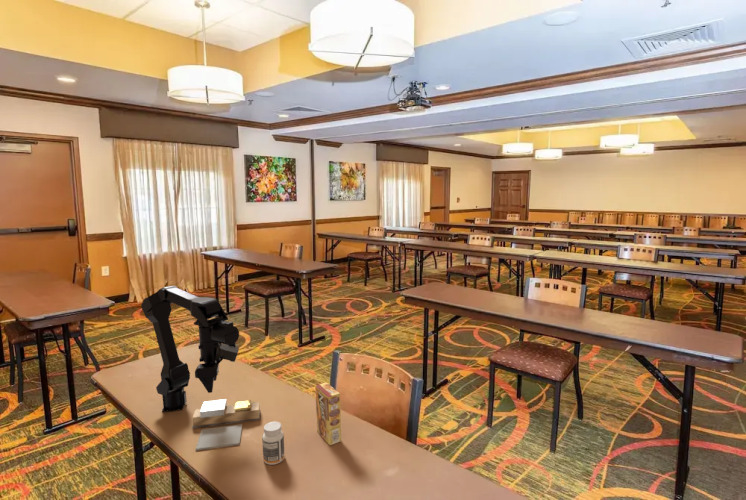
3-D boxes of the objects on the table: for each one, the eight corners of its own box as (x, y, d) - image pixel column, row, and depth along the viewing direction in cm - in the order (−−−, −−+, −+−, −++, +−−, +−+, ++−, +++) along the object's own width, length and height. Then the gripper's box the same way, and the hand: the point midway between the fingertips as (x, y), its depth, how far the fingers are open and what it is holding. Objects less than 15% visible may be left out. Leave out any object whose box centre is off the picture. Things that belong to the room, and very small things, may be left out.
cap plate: (200, 417, 129) (200, 411, 129) (204, 407, 135) (203, 401, 135) (224, 415, 131) (223, 409, 130) (226, 404, 137) (226, 399, 137)
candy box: (342, 441, 122) (341, 393, 120) (329, 446, 120) (328, 397, 118) (328, 427, 129) (327, 381, 127) (316, 432, 127) (314, 385, 125)
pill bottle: (273, 450, 118) (272, 418, 117) (288, 456, 115) (287, 423, 114) (259, 461, 113) (257, 428, 112) (274, 468, 110) (272, 434, 109)
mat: (195, 450, 118) (195, 448, 118) (202, 431, 128) (201, 429, 128) (239, 444, 121) (239, 442, 121) (242, 426, 131) (242, 424, 130)
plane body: (192, 428, 129) (191, 418, 129) (195, 419, 135) (195, 409, 134) (259, 420, 134) (259, 410, 133) (260, 411, 139) (259, 401, 139)
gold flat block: (250, 409, 133) (234, 411, 132) (251, 402, 137) (236, 404, 136) (250, 406, 133) (234, 408, 132) (251, 399, 137) (235, 401, 136)
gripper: (233, 348, 122) (235, 397, 124) (238, 327, 140) (241, 371, 142) (192, 351, 120) (196, 401, 122) (204, 330, 138) (207, 374, 140)
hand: (212, 386), depth 132 cm, fingers open, 8 cm apart
